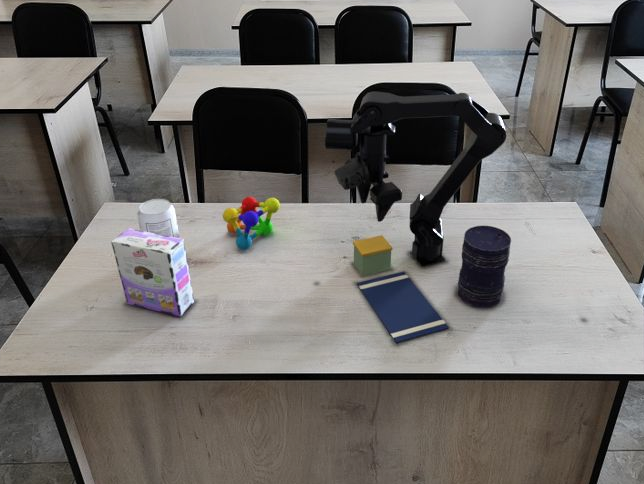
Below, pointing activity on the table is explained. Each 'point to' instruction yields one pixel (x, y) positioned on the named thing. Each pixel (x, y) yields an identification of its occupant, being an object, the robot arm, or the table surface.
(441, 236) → the robot arm
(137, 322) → the table surface
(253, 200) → the molecular model
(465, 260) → the storage jar
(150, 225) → the supplement can
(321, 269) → the table surface
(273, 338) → the table surface
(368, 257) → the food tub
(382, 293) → the tea towel
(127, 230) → the candy box
